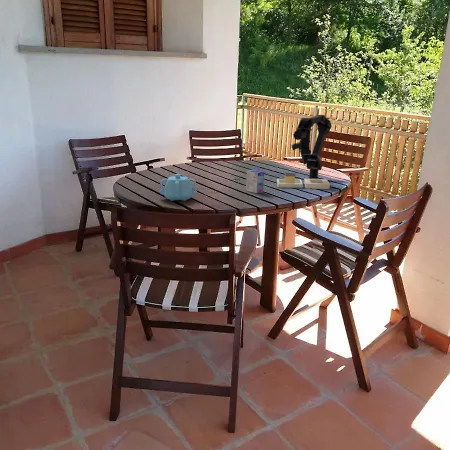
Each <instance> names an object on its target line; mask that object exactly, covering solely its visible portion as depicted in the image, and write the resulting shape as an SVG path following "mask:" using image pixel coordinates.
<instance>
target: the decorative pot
mask: <svg viewBox="0 0 450 450" xmlns="http://www.w3.org/2000/svg"><path fill="white" fill-rule="evenodd" d="M164 181H166V182H165V185H163V182H164ZM190 181H192V182H193V186H192V184H191V182H190ZM159 184H160V188H161V189H160V190H159V193H160V195H163V196H164V197H165V198H166V199H167V200H169V201H170V202H174V201H182V202H186V201H187V200H189V199H191V198H192V196H193V195H196V194H197V192H198V191H197V190H196V189H195V188H196V184H197V183H196V180H195V179H194V178H189V177H187V176H184V175H183V176H182V174H180V173H176V174H174V175H173V176H169V177H168V178H163V179H161V180H160V182H159Z"/></svg>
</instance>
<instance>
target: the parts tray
mask: <svg viewBox="0 0 450 450" xmlns="http://www.w3.org/2000/svg"><path fill="white" fill-rule="evenodd" d="M303 184H304V182H303V181H302V179H299V178H297V179H296V178H295V184H289V183H285V178H277V179H276V185H277V188H279V189H280V188H281V189H282V188H283V189H285V188H286V189H303V188H304V185H303Z"/></svg>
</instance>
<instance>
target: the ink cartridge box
mask: <svg viewBox="0 0 450 450" xmlns="http://www.w3.org/2000/svg"><path fill="white" fill-rule="evenodd" d="M260 168H261V167H260V166H257V165H256V166H255V167H254V168H253V169H249V170H246V186H245V191H247V192H250V193H254V194H262V193H264V185H265V183H264V182H265V180H264V179H265V171H262V170H260Z"/></svg>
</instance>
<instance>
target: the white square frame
mask: <svg viewBox="0 0 450 450" xmlns="http://www.w3.org/2000/svg"><path fill="white" fill-rule="evenodd" d="M303 184H305V185H304V187H305V189H310V188H312V189H313V190H314V189H316V190H319V189H320V190H330V188H331V184H330V182H329V181H328V179H326V178H325V179H324V178H323V179H322V178H319V179H309V178H304V179H303Z"/></svg>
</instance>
